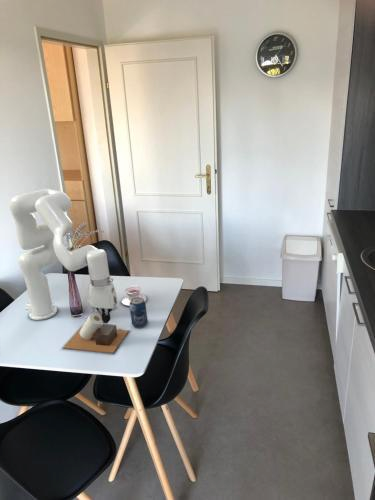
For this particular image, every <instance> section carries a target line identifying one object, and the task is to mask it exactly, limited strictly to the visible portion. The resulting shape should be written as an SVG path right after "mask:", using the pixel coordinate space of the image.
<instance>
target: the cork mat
mask: <svg viewBox="0 0 375 500" xmlns="http://www.w3.org/2000/svg"><path fill="white" fill-rule="evenodd" d="M82 327H83V326H81V327H80V328H79V329H78V330H77V331H76V332H75V334H74V335H73V336H72V337H71V338H70V340H68V341H67V342H66V343H65V345H64V346H63V347H62V348H63V349H66V350H74V351H82V352H83V351H84V352H95V353H103V354H115V352H116V351H117V349H118V348H119V346H120V344H121V343H122V342H123V340H124V339H125V338H126V336H127V334H128V333H129V330H124V329H122V330H121V329H117V336H116V338H115V339H114V341H113V342H112V343H111V345H110V346H105V345H96V341H95V335H94V337H93V338H92V339H91V340H85V339H83V338H82V337H81V336H80V330H81V328H82Z"/></svg>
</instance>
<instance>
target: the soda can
mask: <svg viewBox="0 0 375 500" xmlns="http://www.w3.org/2000/svg"><path fill="white" fill-rule="evenodd" d="M146 304H147V303H146V301H144V299H143V298H139V297H138V298H133V299H132V300H131V301H130V306H129V313H130V319H131V320H130V321H131V325H132V326H133V327H134V328H135V329H142V328H145V327H146V326H147V324H148V321H149V320H148V313H147V312H148V311H147V305H146Z"/></svg>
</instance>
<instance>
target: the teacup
mask: <svg viewBox="0 0 375 500" xmlns="http://www.w3.org/2000/svg"><path fill="white" fill-rule="evenodd" d="M124 292H125V294H126V296H124V297H123V298H122V299H121V304H122V305H123V306H127V307H130V301H131V300H132V299H133V298H138V297H139V298H143V299H144V301H145V302H146V301H147V296H145V295H144V294H140V293H141V292H142V287H141V286H139V285H130V286H128V287H126V288H125V290H124Z"/></svg>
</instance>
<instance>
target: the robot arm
mask: <svg viewBox="0 0 375 500" xmlns="http://www.w3.org/2000/svg"><path fill="white" fill-rule="evenodd" d="M71 208H72V200H71V198H70V197H69V196H68V194H67V193H65V192H63V191H60V190H58V189H57V190H56V189H52V188H42V189H41V188H40V189H38V190H33V191H28V192H25V193H20V194H18V195H14V196H13V197H12V198H11V199H10V201H9V210H10V213H11V215H12V217H13V219H14V222H15V228H16V234H17V240H18V244H19V247H20V248H21V249H22V250H25V251H26V252H24V253H22V254H21V255H19V257H18V260H17V261H18V265H19V268H20V271H21V272H22V275H23V279H24V282H25V286H26V291H27V295H28V300H29V303H25V307H24V310H25V311H29V312H28V316H29V319H31V320H34V321H42V320H46V319H49V318H51V317H53V316H55V315H56V314H57V313H58V308H57V306H56V305H53V300H52V296H51V292H50V291H51V290H50V285H49V281H48V277H47V275H46V274H45V273H43V272H42V271H41V270H43V269H45V268H47V267H49V266H51V265H54V264H55V263H56V262H57V261H59V262H60V263H61V264H62V266H63V267H64V268H65V269H66V270H68V271H70V272H76V271H78V270H80V269H83V268H85V267H87V268H88V270H87V271H88V275H89V281H90V283H91V284H90V283H89V285H90V288H89V287H88V291H89V292H88V295H89V302H90V307H91V309H92V310H93V309H95V310H97V311H98V312H99V313H100V315H101V317H102V320H103V323H102V324H109V322H110V321H111V312H115V311H117V309H118V305H117V304H118V301H119V300H118V295H117V292H116V287H115V285H114V278H111V276H110V270H109V263H108V255H107V252H106V251H105V250H104V249H100V248H97V247H95V246H94V245H92V244H86V245H84V246H81V247H79V248H76V249H73V250H71V251H69V250H68V248H67V247H66V246H65V243H64V237H65V236H66V235H67V234H69V232H70V231H71V229H72V228H73V221H72V220H71V219H70V218H69V216H68V215H67V214H66V212H68V211H69V210H71ZM36 212H37V213H38V215H39V216H40V218H41V219H42V221H43V223H42V222H41V223H37V218H36V216H35V214H34V213H36Z"/></svg>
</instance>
